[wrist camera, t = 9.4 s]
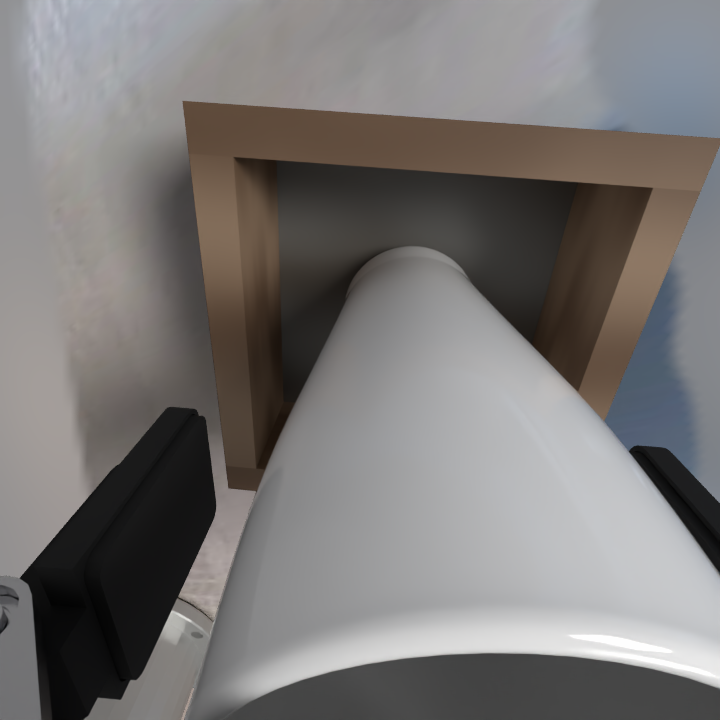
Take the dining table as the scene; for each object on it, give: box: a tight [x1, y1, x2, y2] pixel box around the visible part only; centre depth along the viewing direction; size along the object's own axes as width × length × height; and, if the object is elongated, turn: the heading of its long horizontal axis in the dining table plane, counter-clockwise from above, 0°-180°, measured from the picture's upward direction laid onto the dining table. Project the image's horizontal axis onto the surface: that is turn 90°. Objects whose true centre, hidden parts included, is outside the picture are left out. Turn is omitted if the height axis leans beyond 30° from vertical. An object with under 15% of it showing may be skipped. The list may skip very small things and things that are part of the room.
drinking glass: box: [184, 246, 720, 720], centre depth 11 cm, size 7×7×15 cm
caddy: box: [183, 101, 720, 491], centre depth 16 cm, size 13×13×6 cm
